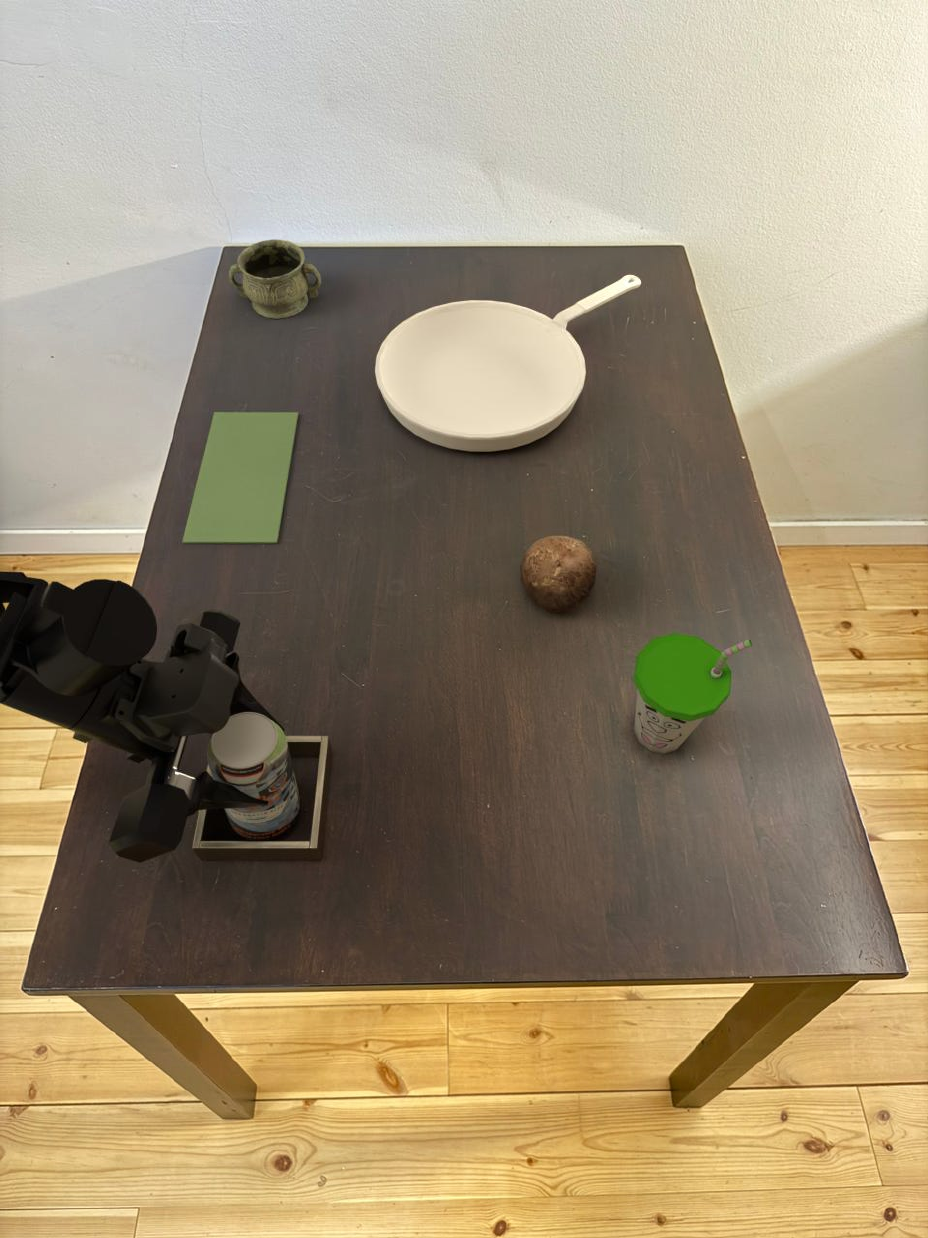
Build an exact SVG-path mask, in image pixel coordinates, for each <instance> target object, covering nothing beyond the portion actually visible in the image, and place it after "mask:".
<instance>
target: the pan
mask: <svg viewBox="0 0 928 1238" xmlns="http://www.w3.org/2000/svg"><path fill="white" fill-rule="evenodd" d="M641 284H642V282H641V279H640V277H638V276H636V275H633V274H627V275H624V276H623V277H622V278H620V279H619V280H617V281H615V282H613V283H612V284H610V285H607V286H606V287H604V288H602V289H600V290H598V291H596V292H594V293H592V294H590V295H588V296H587V297H585V298H583V299H580V300H578V301H577V302H575V303H574V304H573V305H571V306H570V307H567V308H565V309H564V310H561V311H560V312H558V313H556V315H554V317H553V318H551V317H549V316H547V315H545V314H544V313H541V312H539V311H536V310H534V309H532V308H529V307H525V306H522V305H519V304H514V303H512V302H506V301H505V302H504V301H496V300H481V299H480V300H477V299H476V300H475V299H473V300H470V299H469V300H461V301H453V302H448V303H444V304H440V305H435V306H432V307H430V308H426V309H424V310H422V311H419V312H417V313H415V314H413V315H411V316H410V317H408V318H407V319H405V320H403V321H402V322H400V323H399V324H398V325H397V326H396V327H394V329H392V330H391V331H390V332H389V334H388V335H387V336H386V337H385V339H384V340H383V342H382V343H381V344H380V347H379V350H378V352H377V354H376V357H375V365H374V366H375V367H374V373H375V378H376V379H375V380H376V384H377V387H378V389H379V391H380V393H381V397H382V398H383V400H384V402H385V404H386V406H387V408H388V410H389V411H390V413H391V414H392V415H393V416H394V417H395V419H396V420H397V421H398V422H399V423H400V424H401V425H402V426H403V427H404V428H406V429H407V430H408V431H410V432H411V433H412V434H413V435H415V436H416V437H419V438H420V439H423V440H424V441H427V442H429V443H431V444H435V445H437V446H441V447H444V448H446V449H447V448H448V449H451V450H457V451H465V452H483V453H484V452H488V453H489V452H497V451H504V450H505V451H506V450H511V449H515V448H518V447H521V446H525V445H528V444H531V443H533V442H535V441H537V440H539V439H541V438H544V437H545V436H547V435H548V434H549V433H551V432H552V431H553V430H555V429H557V428H559V426H560V425H561V424H562V422H563V421H564V420H565V419H566V418H567V417H568V416H569V415H570V413H571V412H572V410H573V408H574V406H575V404H576V402H577V400H578V399H579V396H580V394H581V393H582V391H583V388H584V386H585V380H586V376H587V370H586V369H587V368H586V361H585V356H584V354H583V352H582V349H581V346H580V345H579V343H577V341H576V339H575V338H574V336H573V335H572V334H571V333H570V332H569V331H568V330H567V326H568V323H569V322H570V321H572V320H575V319H576V318H578V317H580V316H582V315H584V314H587V313H589V312H592V311H594V310H595V309H597V308H599V307H601V306H603V305H604V304H607V303H609V302H610V301H612V300H614V299H617V298H618V297H620V296H622V295H624V294H625V293H628V292H629V291H632V290H636V289H638V288H639V287H640V286H641Z"/></svg>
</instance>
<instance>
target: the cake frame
mask: <svg viewBox="0 0 928 1238" xmlns="http://www.w3.org/2000/svg"><path fill="white" fill-rule="evenodd" d="M285 736H286V739H287V743H288V748H289V752H290V757H291V758H292V757H294V758H297V757H299V758H301V757H302V758H303V757H305V758H307V757H308V758H311V757H312V758H316V757H317V758H318V767H317V776H316V786H315V795H314V803H313V813H312V814H313V815H312V822H311V832H310V839H309V840H298V841H297V840H264V841H255V840H213V838H214V837H213V836H214V831H215V825H216V820H217V813H218V809H208V810H199V811H198V815H197V821H196V826H195V832H194V837H193V841H192V850H193V851H194V852H195V853H196V855H197V856H198V857H199V859H200V860H201V861H322V860H323V853H324V844H325V843H324V842H325V834H326V833H325V832H326V823H327V813H328V802H329V794H330V793H329V792H330V781H331V771H332V763H333V761H332V760H333V751H334V750H333V748H332V744H331V741H330V737H329V736H328V735H285ZM206 771H207V772H208V773H209V774H210V775H211V776H212V773H211V770H210V768H209V765H208V764H207V767H206ZM212 778H213V776H212ZM213 779H214V778H213Z"/></svg>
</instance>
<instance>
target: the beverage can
mask: <svg viewBox="0 0 928 1238" xmlns="http://www.w3.org/2000/svg"><path fill="white" fill-rule="evenodd" d="M286 736H287V735H286V734H285V731H284V732H283V730H282V729H281V728H280V727H279V725H277V724H276V723H275V722H274V721H272V720H270V719H269V718H267V717H266V716H264V715H262V714H259V713H254V712H244V713H239V714H235V715H233V716H230V717H229V720H228V722H227V724H226V725H225V727H224V728H223V729H221V730H220V731H218V732H216V733H212V736H211V738H210V740H209V742H208V745H207V750H206V761H207V766H208V765H209V768H210V770H211V773H212V776H213V778H214V780H216V781H219V782H222V783H225V784H228V785H232V786H234V787H235V788H237V789H238V790H240V791H241V792H243V793H245V794H247V795H249V796H251V797H254V798H257V799H260V800H265V801H269V803H268V805H266V806H252V807H247V808H230V809H224V812H225V814H226V817H227V820H228V822H229V824H230V826H231V828H232V829H233V831H234V832H235V833H237V834H238V835H239V836H240V837H243V838H244V839H247V840H249V841H271V840H273V839H276V838H278V837H280V836H282V835H284V833H286V832H287V831H289V830H290V829H291V828H292V827H293V825H294V824H295V822H296V821H297V819H298V817H299V814H300V812H301V798H300V793H299V788H298V783H297V779H296V776H295V770H294V766H293V762H292V757H290V752H289V748H288V743H287V739H286Z"/></svg>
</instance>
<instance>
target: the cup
mask: <svg viewBox="0 0 928 1238" xmlns="http://www.w3.org/2000/svg"><path fill="white" fill-rule="evenodd" d="M750 647H753V642H752V640H751V639H750V638H749V639H746V640H744V641H742V642H739V643H738V644H734V645H733V646H730V647H728V648H726V649H725V650H723V652H721V651H720V650H719V649H717V648H716V647H714V646H713V645H712V644H710V643H708V642H707V641H705V640H704V639H703V638H701V637H699V636H694V635H689V634H684V633H678V632H672V633H669V634H665V635H661V636H657V637H653V638H651V640H650V641H649V642H648V643H647V644H645V646H644V647H643V648H642V649H641V650H640V651H639V652H638V653H637V656H636V659H635V665H634V673H633V679H632V680H633V682H634V685H635V686H636V688H637V690H636V701H635V702H636V705H635V715H634V716H635V717H634V729H633V732H634V735H635V737H636V740H637V741H638V743H639V745H641V746H643V747H644V748H645V749H646V750H647V751H649V752H651V753H656V754H661V755H666V754H669V753H673V752H676V751H677V750H678V749H679V747H681V745H682V744H683V743H684V742H685V741H686V740H687V739H688V737H689V736H690V735H691V734H692V732H694V730H695V729H696V728H697V727H698V726H699V725H700V724H701V722H702V721H703V720H704V719H705V718H706V717H710V716H714V714H715V713H716V712H717V711H718V710H719V709H720V708H721V707H722V706H723V704H724V703H725V702H726V701H727V700H728V698H729V696H730V695H731V685H732V670H731V668H730V666H729V665H728V663H727V661H728V658H729V657H730V656H733V655H735V654H737V653H739V652H741V651H744V650H746V649H749V648H750Z"/></svg>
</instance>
